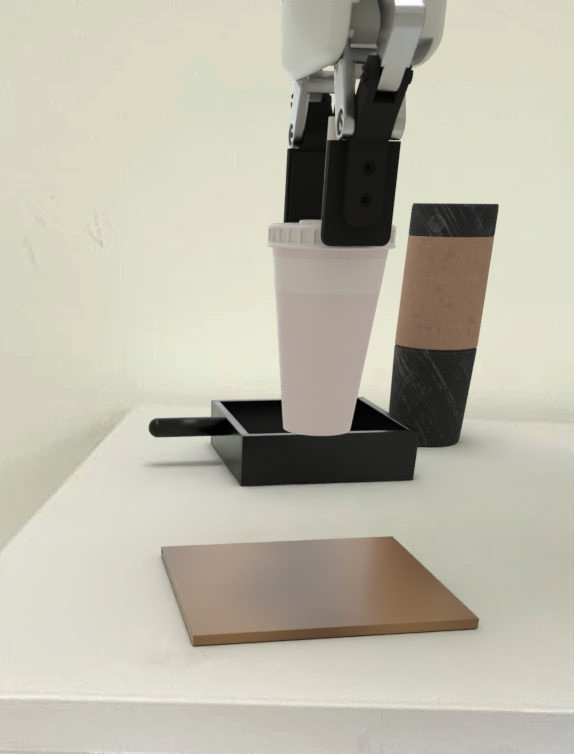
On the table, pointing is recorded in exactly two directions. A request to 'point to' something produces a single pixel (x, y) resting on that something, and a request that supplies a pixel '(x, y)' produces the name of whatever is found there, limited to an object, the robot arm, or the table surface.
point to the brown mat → (308, 590)
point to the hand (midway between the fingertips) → (332, 238)
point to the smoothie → (322, 321)
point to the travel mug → (440, 316)
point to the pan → (300, 444)
